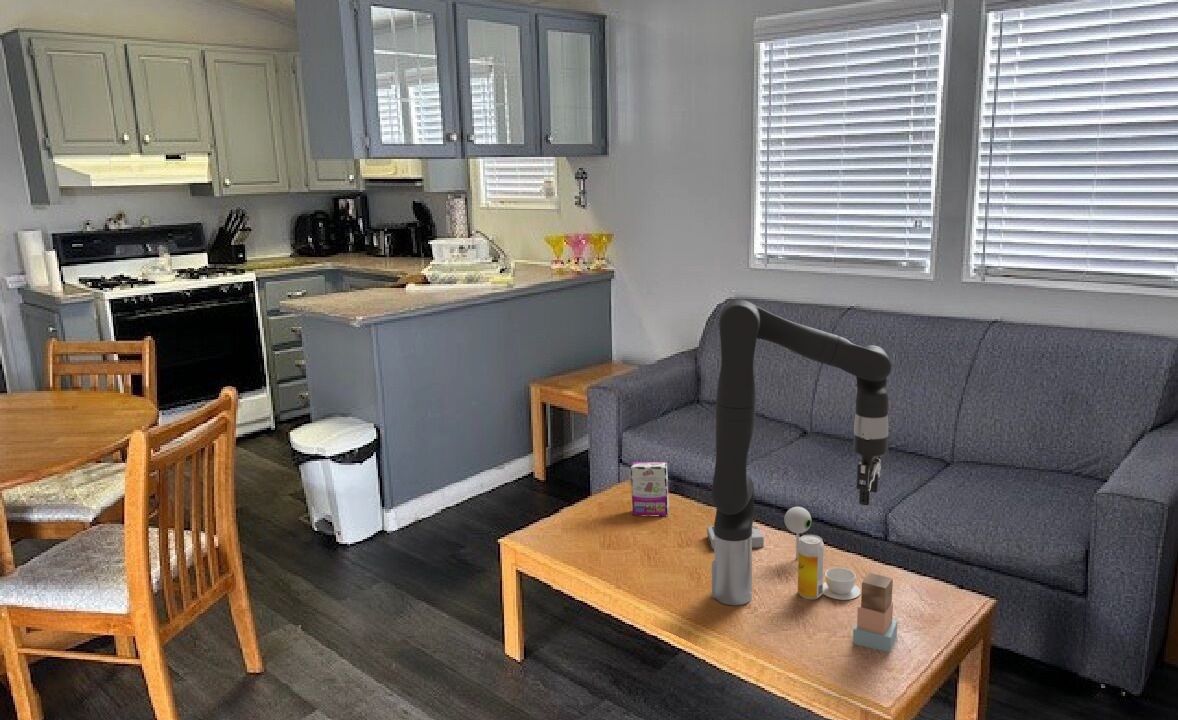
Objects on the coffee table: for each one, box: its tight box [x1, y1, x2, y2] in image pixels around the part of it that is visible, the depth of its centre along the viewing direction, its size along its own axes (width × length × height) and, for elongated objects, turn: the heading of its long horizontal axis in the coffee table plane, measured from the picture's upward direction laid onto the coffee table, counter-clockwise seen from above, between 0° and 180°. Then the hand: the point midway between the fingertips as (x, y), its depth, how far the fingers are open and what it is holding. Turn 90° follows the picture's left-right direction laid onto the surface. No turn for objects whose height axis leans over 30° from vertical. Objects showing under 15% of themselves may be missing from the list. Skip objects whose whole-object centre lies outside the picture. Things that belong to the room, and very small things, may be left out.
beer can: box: [797, 534, 825, 600], centre depth 206 cm, size 6×6×15 cm
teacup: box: [822, 567, 862, 601], centre depth 209 cm, size 10×10×5 cm
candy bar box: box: [630, 461, 670, 517], centre depth 259 cm, size 11×5×16 cm, turn 80°
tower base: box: [852, 618, 898, 653], centre depth 187 cm, size 8×8×4 cm
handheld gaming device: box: [706, 525, 765, 550], centre depth 238 cm, size 9×15×4 cm, turn 91°
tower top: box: [856, 601, 894, 635], centre depth 186 cm, size 6×6×5 cm
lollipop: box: [783, 506, 812, 560], centre depth 225 cm, size 7×7×15 cm
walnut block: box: [860, 572, 894, 613], centre depth 185 cm, size 5×5×6 cm
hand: (868, 498), depth 195 cm, fingers open, 8 cm apart
